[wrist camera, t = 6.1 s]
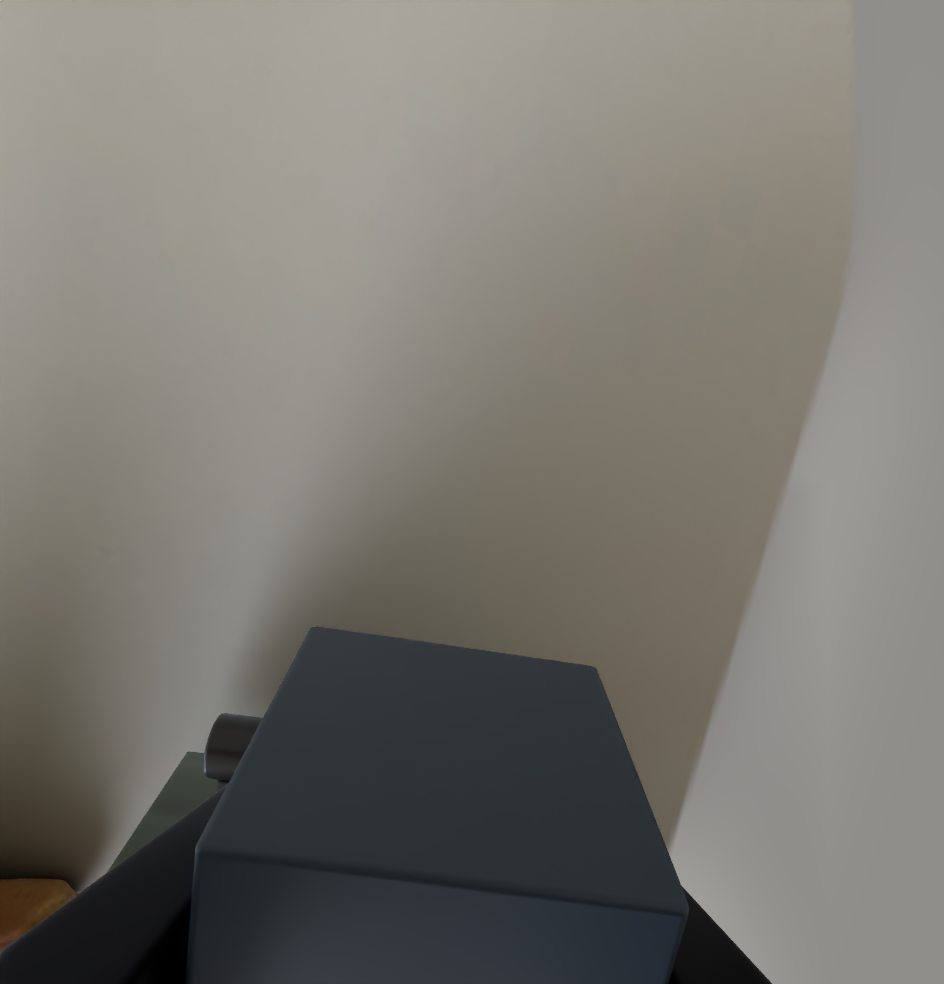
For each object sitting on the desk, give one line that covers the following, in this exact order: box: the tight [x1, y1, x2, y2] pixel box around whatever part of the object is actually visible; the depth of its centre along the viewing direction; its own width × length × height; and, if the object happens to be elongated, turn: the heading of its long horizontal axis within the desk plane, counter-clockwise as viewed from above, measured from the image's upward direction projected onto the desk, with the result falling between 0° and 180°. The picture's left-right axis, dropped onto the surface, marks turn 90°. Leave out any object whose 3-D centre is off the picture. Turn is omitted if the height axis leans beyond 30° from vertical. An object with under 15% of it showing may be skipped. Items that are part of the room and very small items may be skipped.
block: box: [185, 626, 689, 984], centre depth 8 cm, size 4×4×4 cm
